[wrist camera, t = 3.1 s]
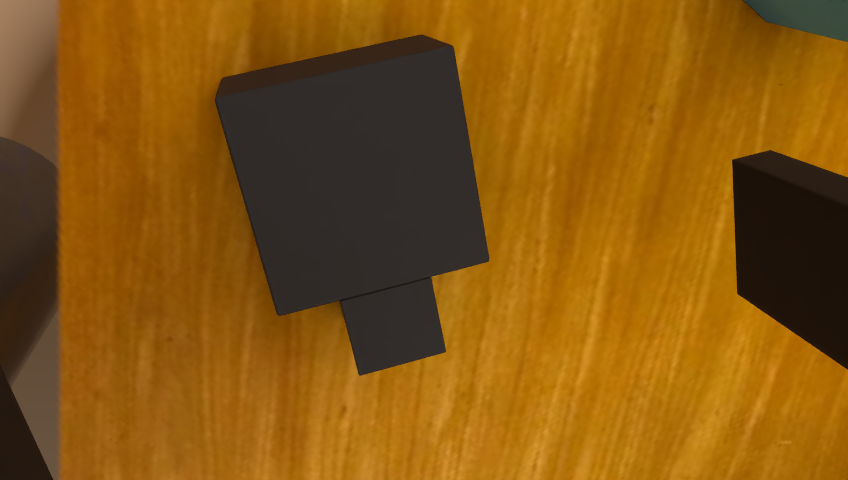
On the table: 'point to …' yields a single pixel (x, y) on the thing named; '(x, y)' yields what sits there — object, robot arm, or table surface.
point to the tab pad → (359, 188)
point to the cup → (806, 15)
